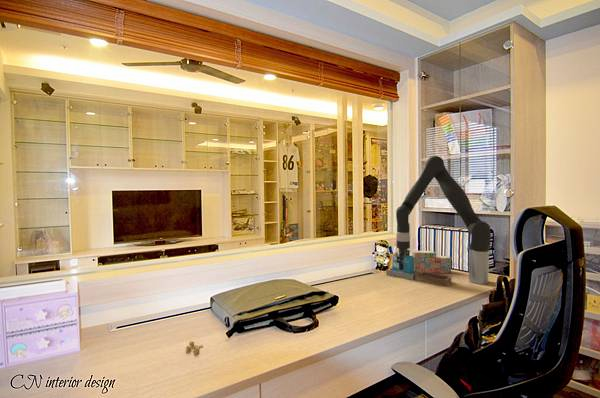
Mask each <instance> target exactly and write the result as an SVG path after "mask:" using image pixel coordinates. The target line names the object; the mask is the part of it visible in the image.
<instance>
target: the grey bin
mask: <svg viewBox="0 0 600 398" xmlns="http://www.w3.org/2000/svg"><path fill="white" fill-rule="evenodd" d="M385 272H386V273H385V274H386V276H389V277H395V278H400V279H405V280H411V281H415V275H416V274H418V273H420V271H416V270H414V273H413V274H409V273H403V272H397V271H392V267H390V268H388V269H386V271H385Z"/></svg>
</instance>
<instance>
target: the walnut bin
mask: <svg viewBox="0 0 600 398" xmlns="http://www.w3.org/2000/svg"><path fill="white" fill-rule="evenodd" d="M414 281H416V282H420V283H426V284H431V285H437V286H443V287H446V286H448V285H450V284H451V283H452V276H449V275H445V274H440V273H427V272H420V273H418V274H416V275H415V279H414Z"/></svg>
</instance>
